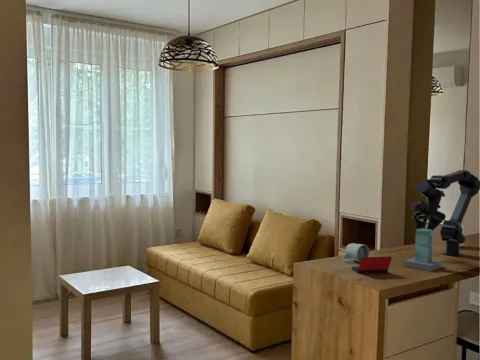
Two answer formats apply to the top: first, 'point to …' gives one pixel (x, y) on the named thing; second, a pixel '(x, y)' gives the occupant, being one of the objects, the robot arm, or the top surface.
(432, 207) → the robot arm
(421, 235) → the teal block
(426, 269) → the gray square slab
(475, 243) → the top surface
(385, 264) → the handheld game console
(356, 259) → the ceramic mug
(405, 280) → the top surface
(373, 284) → the top surface
